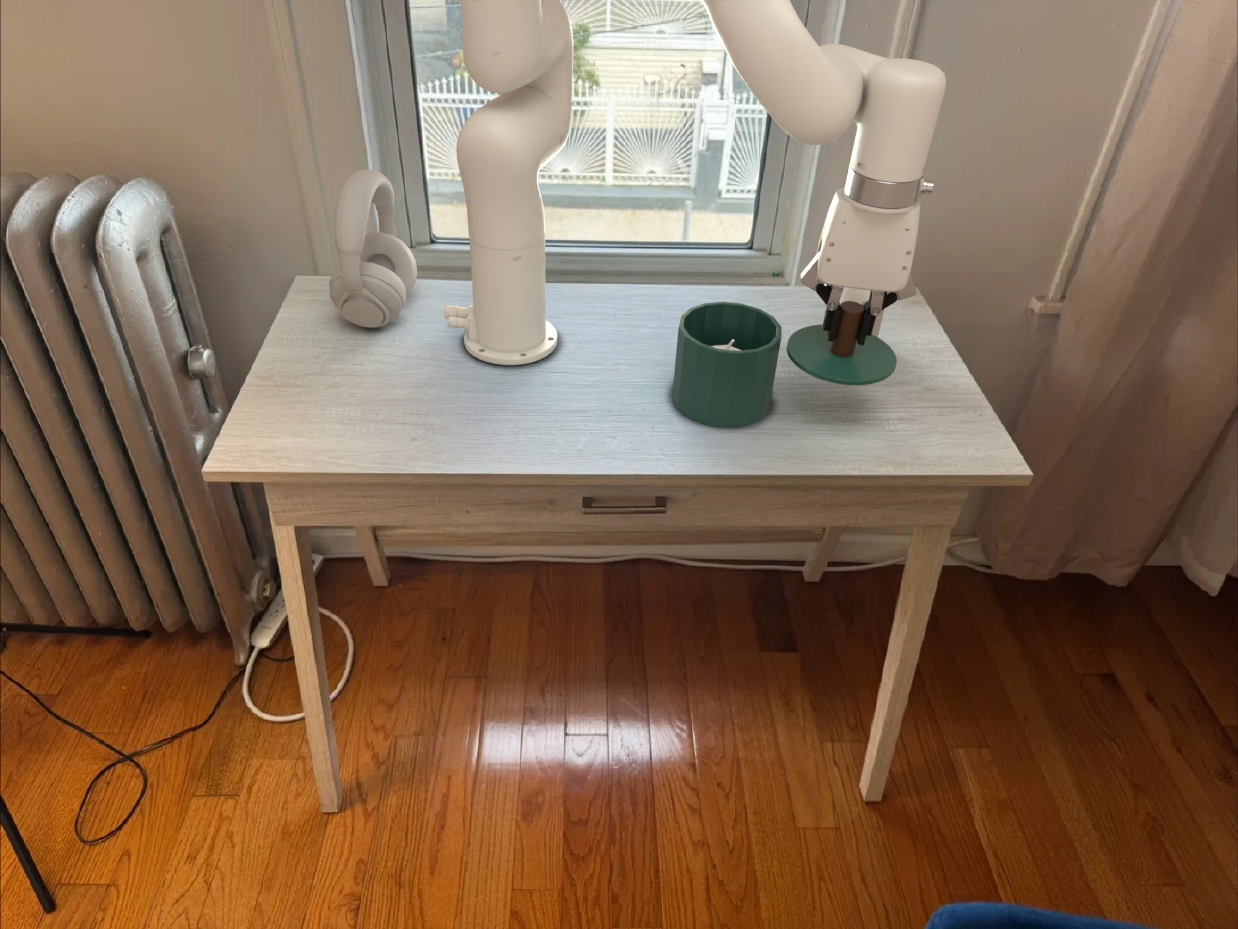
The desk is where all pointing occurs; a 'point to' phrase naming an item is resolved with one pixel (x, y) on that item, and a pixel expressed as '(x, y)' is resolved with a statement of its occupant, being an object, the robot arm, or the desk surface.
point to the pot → (725, 363)
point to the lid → (842, 351)
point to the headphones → (369, 254)
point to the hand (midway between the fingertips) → (845, 336)
